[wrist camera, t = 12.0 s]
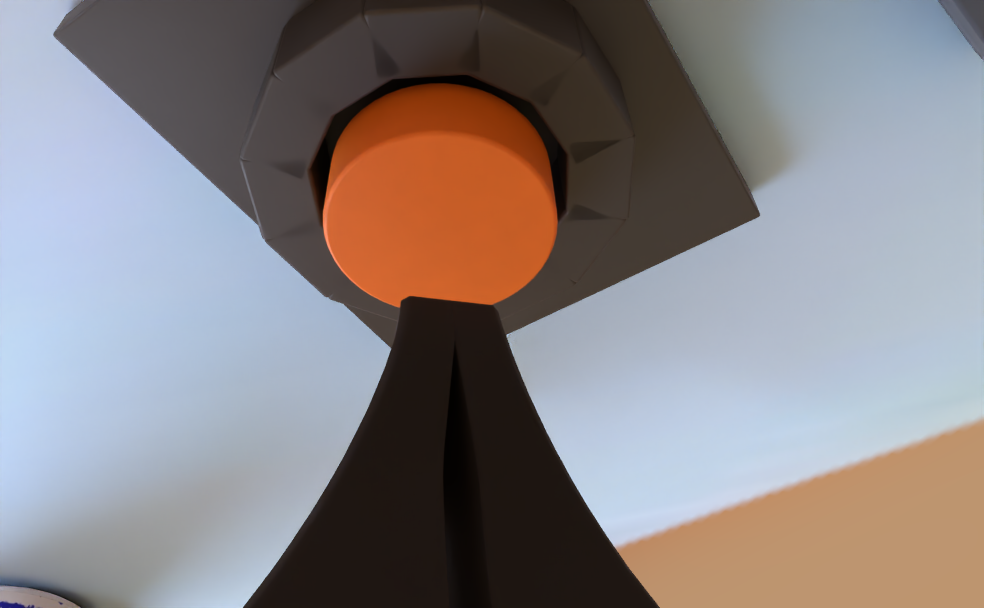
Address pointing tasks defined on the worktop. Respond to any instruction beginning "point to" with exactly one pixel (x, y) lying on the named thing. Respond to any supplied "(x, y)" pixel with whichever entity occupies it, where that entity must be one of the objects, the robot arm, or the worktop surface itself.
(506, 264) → the button
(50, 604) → the beverage can
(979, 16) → the control panel
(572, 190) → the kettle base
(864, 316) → the worktop surface
